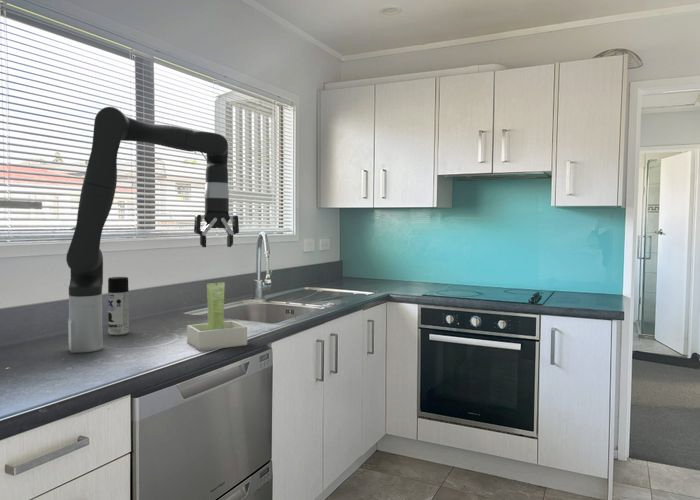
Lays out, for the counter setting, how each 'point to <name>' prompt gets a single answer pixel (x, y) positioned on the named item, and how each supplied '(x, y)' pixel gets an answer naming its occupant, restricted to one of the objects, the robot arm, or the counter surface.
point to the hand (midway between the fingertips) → (216, 247)
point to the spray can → (118, 306)
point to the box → (216, 336)
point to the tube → (215, 305)
